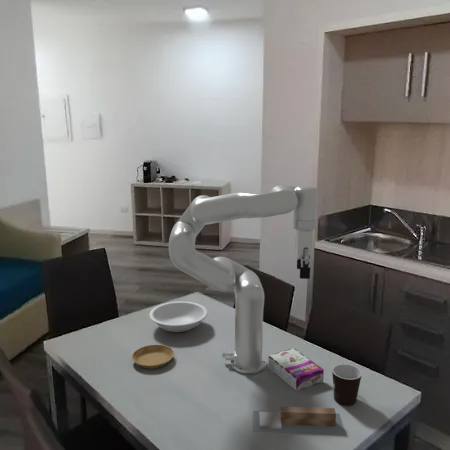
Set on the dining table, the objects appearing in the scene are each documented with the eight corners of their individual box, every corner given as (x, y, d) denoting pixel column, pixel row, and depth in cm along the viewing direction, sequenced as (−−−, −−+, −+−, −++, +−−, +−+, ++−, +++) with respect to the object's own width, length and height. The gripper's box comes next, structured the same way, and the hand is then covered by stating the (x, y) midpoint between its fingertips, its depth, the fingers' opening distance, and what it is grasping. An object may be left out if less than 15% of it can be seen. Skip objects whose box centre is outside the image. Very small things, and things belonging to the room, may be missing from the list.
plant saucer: (132, 374, 152) (132, 367, 152) (131, 353, 166) (131, 346, 166) (176, 369, 156) (176, 362, 155) (171, 348, 170) (171, 342, 169)
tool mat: (253, 432, 123) (253, 431, 123) (253, 412, 132) (253, 410, 132) (345, 436, 122) (345, 434, 122) (339, 415, 131) (339, 413, 131)
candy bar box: (323, 383, 147) (293, 359, 161) (324, 369, 146) (294, 347, 160) (295, 392, 142) (267, 367, 156) (296, 378, 141) (267, 354, 155)
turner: (259, 427, 125) (259, 415, 124) (259, 414, 131) (259, 401, 130) (336, 430, 123) (337, 417, 123) (332, 416, 129) (333, 404, 128)
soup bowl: (159, 313, 200) (158, 299, 199) (212, 316, 197) (212, 302, 195) (142, 338, 177) (141, 323, 176) (202, 342, 174) (201, 327, 172)
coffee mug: (354, 413, 132) (357, 382, 129) (326, 403, 136) (328, 374, 134) (365, 393, 141) (367, 364, 139) (338, 385, 146) (340, 357, 143)
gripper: (291, 218, 156) (289, 265, 160) (295, 230, 139) (294, 282, 143) (313, 218, 156) (311, 265, 160) (320, 230, 139) (317, 282, 143)
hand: (303, 273), depth 152 cm, fingers open, 9 cm apart
